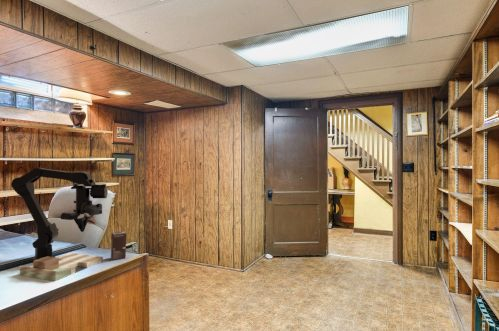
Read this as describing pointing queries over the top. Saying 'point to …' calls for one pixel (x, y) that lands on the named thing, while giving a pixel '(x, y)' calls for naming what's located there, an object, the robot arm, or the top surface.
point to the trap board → (62, 267)
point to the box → (118, 245)
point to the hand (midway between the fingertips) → (82, 231)
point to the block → (46, 263)
